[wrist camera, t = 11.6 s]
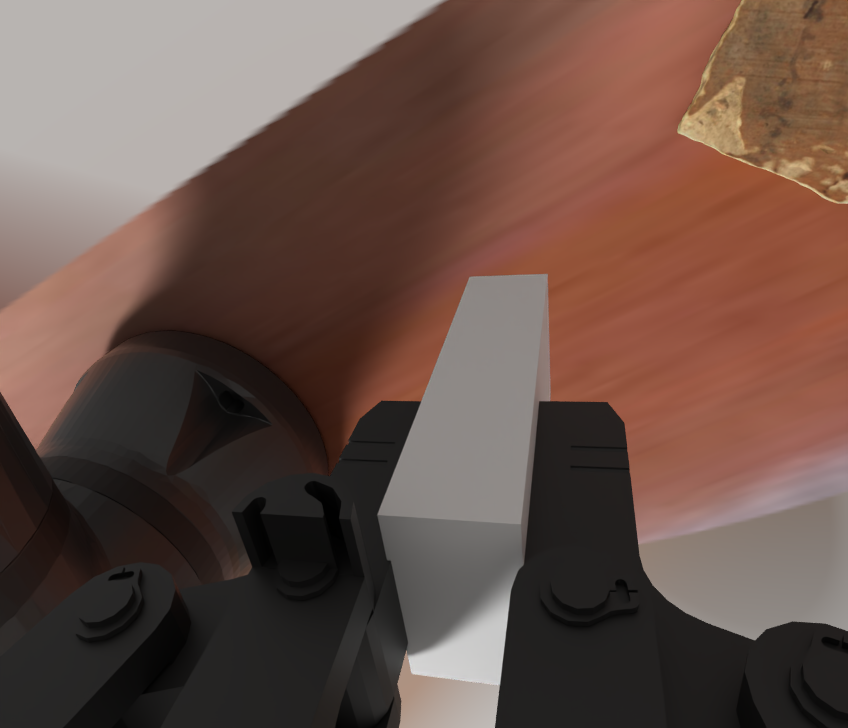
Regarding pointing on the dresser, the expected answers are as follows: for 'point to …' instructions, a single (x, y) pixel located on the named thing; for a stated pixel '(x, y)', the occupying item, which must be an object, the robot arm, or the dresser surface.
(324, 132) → the dresser surface
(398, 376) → the dresser surface
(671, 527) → the dresser surface
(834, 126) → the shard
